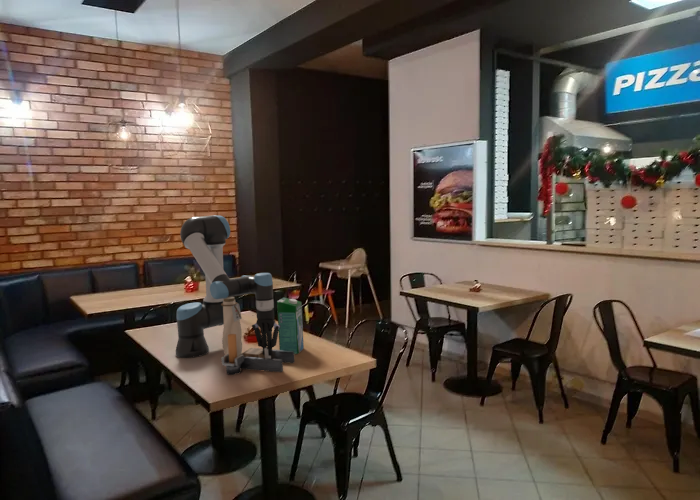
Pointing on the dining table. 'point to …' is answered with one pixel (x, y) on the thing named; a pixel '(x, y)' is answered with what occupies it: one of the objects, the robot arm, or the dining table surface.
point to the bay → (269, 361)
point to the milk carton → (290, 325)
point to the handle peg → (232, 347)
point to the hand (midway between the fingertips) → (268, 362)
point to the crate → (254, 353)
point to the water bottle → (231, 324)
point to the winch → (233, 364)
